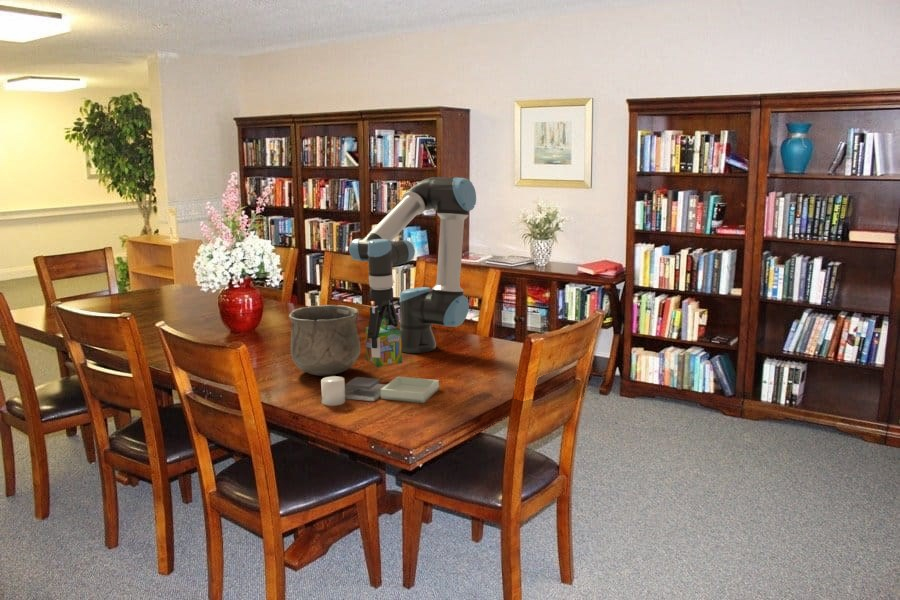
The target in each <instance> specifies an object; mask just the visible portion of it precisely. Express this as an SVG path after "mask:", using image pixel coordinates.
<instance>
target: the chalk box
mask: <svg viewBox="0 0 900 600" xmlns="http://www.w3.org/2000/svg"><path fill="white" fill-rule="evenodd" d="M384 322H385V324H384ZM388 323H389V319H387V318H384V319H382V322H381V327H380V331H379V336H378V338H380V358H376V357H372V352H371V338H368V337H367V334H368V327H369V326H367V327H365V351H366V353H365V355H366V359H365V360H366V361H367V362H369V363H370V364H372V365H374V366H375V367H376V368H381V367H387V366H392V365H398V364H403V354H402V353H403V352H402V348H401V330H400V328H398V326H397V327H395V326H393V325H391V324H388Z"/></svg>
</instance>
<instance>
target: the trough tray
mask: <svg viewBox="0 0 900 600" xmlns="http://www.w3.org/2000/svg"><path fill="white" fill-rule="evenodd" d="M439 381H440V380H439V379H433V378H432V379H431V378H428V379H427V378H420V377H409V376H400V375H399V376H396V377H395V378H393V379H392V380H390V381H389V383H387V384H385V385H386V386H384V387H383V388H382V389H381V396H380V399H381V400H389V401H390V400H391V401H400V402H407V403H408V402H409V403H410V402H411V403H419V404H420V403H421V404H424V403H426V402H427V401H428V400H429V399H431V397H432V396H433V395H435V393H436V392H438V390H439V388H440V384H439V383H440V382H439Z"/></svg>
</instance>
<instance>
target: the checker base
mask: <svg viewBox="0 0 900 600" xmlns="http://www.w3.org/2000/svg"><path fill="white" fill-rule="evenodd" d="M386 385H387V384H385V383H378V384H376V385H375V386H374V387H372V388H371V389H370V390H367V389H358V388H348V387H346V385H345V400H347V399H349V400H358V401H367V402H368V401H369V402H375V401H376V400H378V399H379V398H381V389H382V388H383V387H384V386H386Z"/></svg>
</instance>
